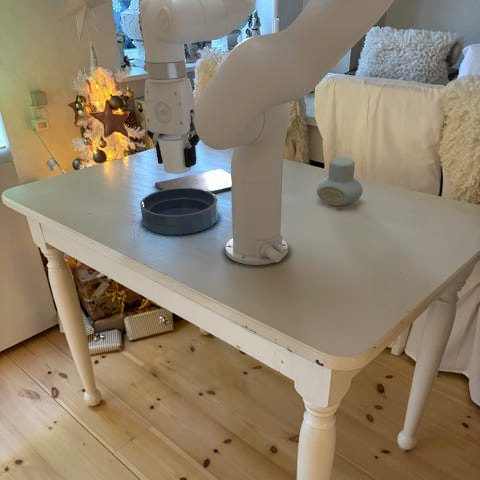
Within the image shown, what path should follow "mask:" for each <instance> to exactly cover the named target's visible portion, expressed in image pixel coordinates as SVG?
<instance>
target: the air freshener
mask: <svg viewBox="0 0 480 480" xmlns="http://www.w3.org/2000/svg"><path fill="white" fill-rule="evenodd" d="M355 166H356V162H355V161H354V160H353V159H352V158H349V157H335V158H332V159H331V160H329V162H328V172H327V173H328V175H327V176H326V177H324V178H323V179H321V180H320V181H319V182H318V184H317V186H316V195H317V196H318V198H319V199H320V200H321V201H322V202H324V203H325V204H328V205H329V206H331V207H337V208H338V207H345V206H350V205H352V204H354V203H356V202H358V200H359V199H360V198H361V197H362V195H363V190H364V189H363V186H362V184H361V183H360V181H359V180H358V179H357V178H355V177H354V175H355Z"/></svg>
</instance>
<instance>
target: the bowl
mask: <svg viewBox="0 0 480 480" xmlns="http://www.w3.org/2000/svg"><path fill="white" fill-rule="evenodd" d="M139 203H140V205H139V206H140V212H141V221H142V224H143V226H144V227H145V228H146V229H147V230H149V231H152V232H155V233H157V234H164V235H187V234H195V233H198V232H202V231H204V230H206V229H208V228H211V227H212V226H214V225H215V223H217V222H218V218H219V206H218V198H217V196H216V195H215V194H212V193H211V192H209V191H205V190H202V189H196V188H172V189H166V190H158V191H155V192H152V193H150V194H147V195H146V196H145V197H143V198H142V199H141V200H140V202H139Z"/></svg>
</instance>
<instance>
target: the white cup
mask: <svg viewBox="0 0 480 480" xmlns="http://www.w3.org/2000/svg"><path fill="white" fill-rule="evenodd" d="M188 137H189V136H188ZM189 139H190V137H189ZM158 142H159V146H160V151H161V156H162V160H163V163H162V165H163V170H164V172H165V173H166V174H171V175H180V174H185V173H188V172H190V171H191V169H192V167H190V168H187V167H186V166H185V157H184V148H186V145H185V143H184V141H183V139H182V136H179V135H168V134H165V135H162V136H160V137H158Z"/></svg>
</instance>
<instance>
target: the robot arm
mask: <svg viewBox="0 0 480 480" xmlns="http://www.w3.org/2000/svg"><path fill="white" fill-rule="evenodd" d="M256 1H257V0H140V2H139V15H140V23H141V31H142V38H143V47H144V54H145V60H146V61H145V64H144V65H143V71H144V73H145V72H146V73H147V77H148V78H147V79H145V81H144V115H145V118H144V119H143V120H142V121H141V123H140V125H141V128H142V129H143V130H144V131H145V132H146V134H147V136H148V137H149V138H150V139H151V141H152V144H153V145H155V152H156V160H157V164H158V165H163V160H162V156H161V151H160V146H159V142H158V137H160V136H162V135H165V134H168V135H179V136H182V139H183V141H184V143H185V145H186V148H184V157H185V166H186V167H187V168H190V167H191V168H192V167H194V166H195V165H196V164H197V149H196V146H198V144H199V142H200V141H201V142H202V143H203V144H204V145H205V146H207V147H209V148H210V149H213V150H217V151H225V150H230V149H231V150H232V149H233V151H232V155H231V159H230V160H231V161H230V175H231V190H230V194H231V222H232V224H231V225H232V226H231V228H232V238H231V239H229V240H228V241H227V242H226V243H225V246H224V248H225V254H226V256H227V257H228V258H229V259H230V260H232V261H234V262H236V263H240V264H243V265H250V266H263V265H270V264H273V263H279V262H281V260H282V259H284V258H285V257H286V256H287V254H288V253H289V249H288V248H289V247H288V246H289V245H288V242H286V240H284V239H283V235H282V234H281V233H282V232H281V231H282V230H281V229H282V227H281V226H282V223H281V222H282V200H283V199H282V198H283V197H282V196H283V171H284V170H283V168H284V155H285V154H284V153H285V143H286V138H287V133H288V129H289V124H290V119H291V118H290V117H291V104H290V103H292V102H295V101H298V100H301V99H302V98H304V97H306V96H308V95H309V94H310V93H312V91H314V89H316V87H317V86H318V85H319V84H320V83H321V81H323V79H325V78H326V76H328V74H329V73H330V72H331V71H332V70H333V69H334V68H335V67H336V66H337V65H338V64H339V63H340V62H341V60H343V59H344V58H345V56H347V54H348V53H349V52H350V50H352V48H353V47H354V46H356V44H357V43H358V42H360V40H361V39H362V38H363V37H364V36H365V35H366V34H367V33H368V32H370V30H371V29H372V28H373V27H374V26H375V25H376V24H377V23H378V22H379V20H380V19H381V18H382V17H383V16H384V15H385V14H386V12H387V11H388V9H389V8H390V7H391V6H392V4H393V3H394V1H395V0H309V1H308V3H307V4H306V6H304V9H303V10H302V11H301V12H300V14H299V15H298V16H297V17H296V18H295V19H294V20H293V21H292V23H291V24H289V25H288V26H287V27H286V28H285V29H283V30H279V31H277V32H271V33H266V34H258V35H253V36H250V37H247V38H246V39H244V40H241V42H239V43H238V44H236V45H235V46H234V47H233V48H232V49H231V50H230V51H229V53H228V54H227V55H226V57H225V58H224V60H223V61H222V63H221V64H220V65H219V67H218V68H217V70H216V71H215V73H214V74H213V75H212V76H211V78H210V80H209V81H208V83H207V84H206V85H205V87H204V88H203V90H202V92H201V93H200V95H199V96H198V99H197V101H196V100H195V95H194V91H193V86H192V83H191V79H190V78H188V75H187V73H188V72H187V61H186V50H185V45H188V44H195V43H201V42H210V41H217V40H220V39H223V38H225V37H227V36H228V35H229V34H230V33H232V32H233V31H234V30H235V29H237V28H238V27H239V26H240V25H241V24H242V23H243V22H244V21H246V20H247V18H249V17H250V15H251V13H252V11H253V9H254V7H255V4H256ZM194 131H195V132H194ZM188 136H189V137H190V139H189V137H188Z"/></svg>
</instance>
